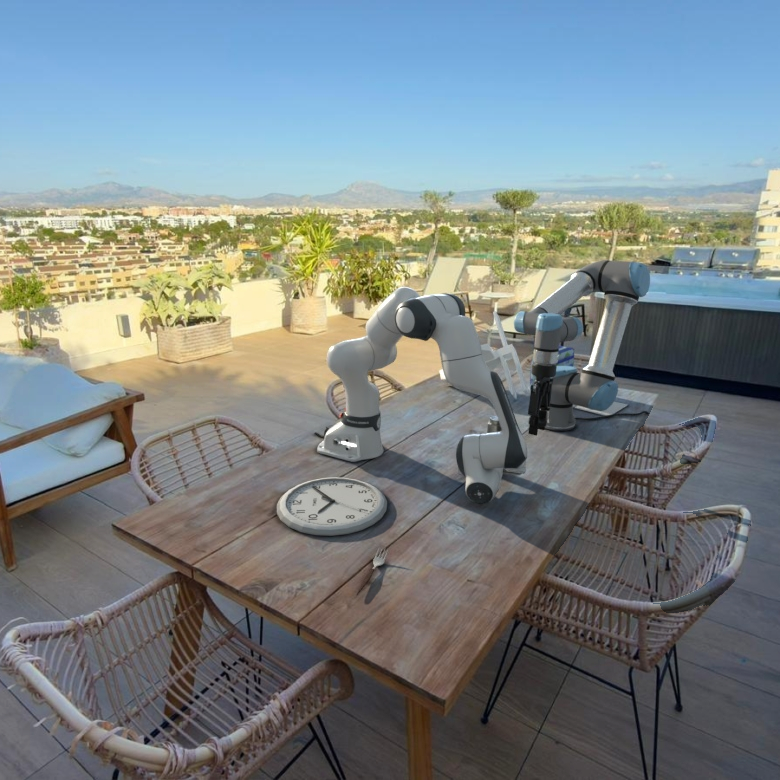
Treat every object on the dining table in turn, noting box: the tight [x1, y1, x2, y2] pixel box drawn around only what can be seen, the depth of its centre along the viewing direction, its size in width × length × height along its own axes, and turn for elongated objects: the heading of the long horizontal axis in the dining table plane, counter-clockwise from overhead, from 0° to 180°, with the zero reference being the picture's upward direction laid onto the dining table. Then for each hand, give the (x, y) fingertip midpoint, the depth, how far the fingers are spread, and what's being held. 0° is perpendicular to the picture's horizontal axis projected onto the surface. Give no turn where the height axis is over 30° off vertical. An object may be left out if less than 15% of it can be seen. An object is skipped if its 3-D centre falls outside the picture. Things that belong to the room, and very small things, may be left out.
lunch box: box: [529, 345, 575, 391], centre depth 245 cm, size 26×11×21 cm, turn 134°
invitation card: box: [573, 401, 629, 416], centre depth 226 cm, size 21×1×15 cm
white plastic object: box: [438, 310, 531, 400], centre depth 245 cm, size 37×45×31 cm
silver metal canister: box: [486, 415, 502, 433], centre depth 162 cm, size 5×5×18 cm
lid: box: [527, 416, 547, 427], centre depth 171 cm, size 6×6×2 cm
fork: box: [356, 545, 389, 596], centre depth 114 cm, size 3×16×2 cm, turn 160°
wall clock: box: [276, 476, 388, 537], centre depth 142 cm, size 30×2×30 cm
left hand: (494, 450), depth 163 cm, fingers closed on silver metal canister, 5 cm apart
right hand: (536, 431), depth 172 cm, fingers closed on lid, 6 cm apart
